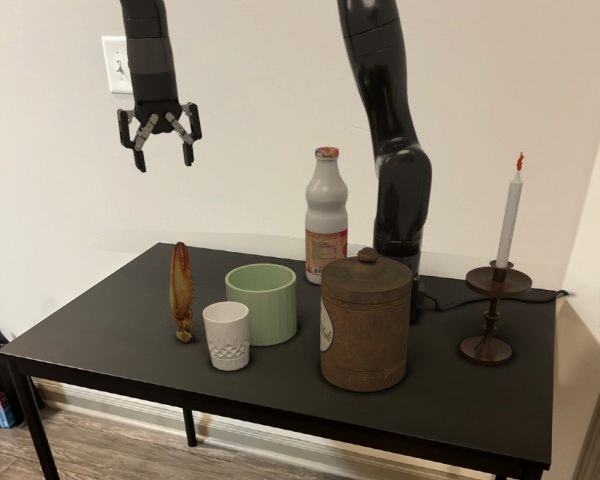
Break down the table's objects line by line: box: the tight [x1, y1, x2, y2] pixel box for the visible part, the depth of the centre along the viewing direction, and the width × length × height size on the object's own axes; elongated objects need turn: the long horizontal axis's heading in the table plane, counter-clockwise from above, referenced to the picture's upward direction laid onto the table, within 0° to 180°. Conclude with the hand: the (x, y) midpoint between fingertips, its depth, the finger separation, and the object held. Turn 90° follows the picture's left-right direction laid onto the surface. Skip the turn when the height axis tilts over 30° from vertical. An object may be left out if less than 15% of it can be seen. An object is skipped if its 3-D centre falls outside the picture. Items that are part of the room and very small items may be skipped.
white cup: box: [202, 301, 250, 372], centre depth 107 cm, size 8×8×10 cm
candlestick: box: [459, 151, 533, 367], centre depth 101 cm, size 11×11×35 cm
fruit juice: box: [304, 146, 349, 286], centre depth 131 cm, size 9×9×28 cm
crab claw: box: [169, 240, 196, 343], centre depth 110 cm, size 7×5×20 cm
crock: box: [224, 263, 298, 347], centre depth 116 cm, size 13×13×11 cm
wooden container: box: [319, 246, 412, 393], centre depth 100 cm, size 15×15×22 cm
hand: (166, 168), depth 111 cm, fingers open, 8 cm apart
